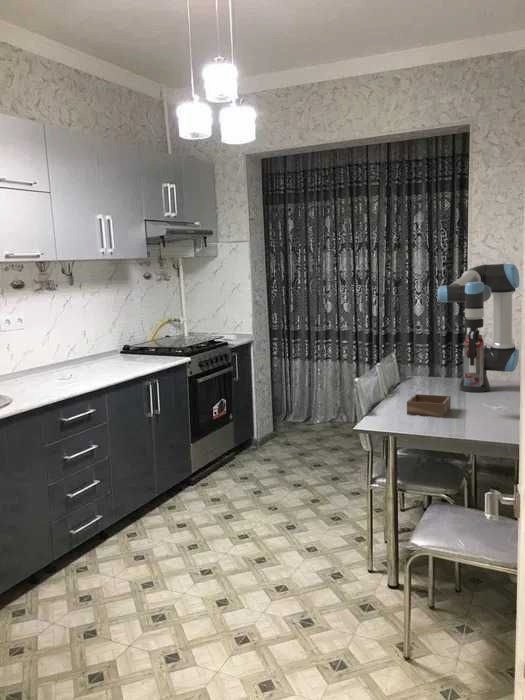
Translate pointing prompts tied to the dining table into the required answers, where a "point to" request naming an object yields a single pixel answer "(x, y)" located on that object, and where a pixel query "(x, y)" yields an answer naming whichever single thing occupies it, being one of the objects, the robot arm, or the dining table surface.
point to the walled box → (429, 405)
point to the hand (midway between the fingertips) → (473, 370)
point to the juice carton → (477, 377)
